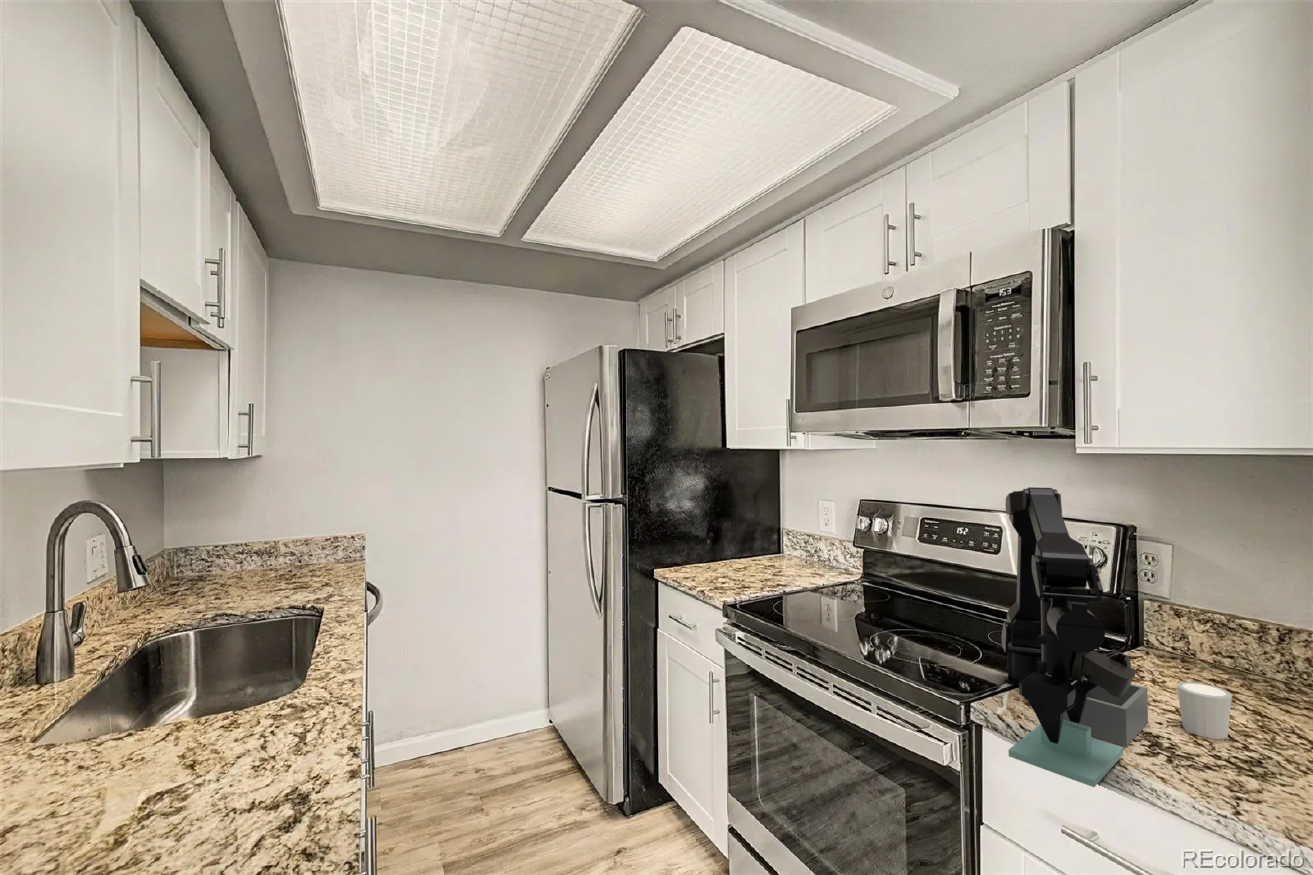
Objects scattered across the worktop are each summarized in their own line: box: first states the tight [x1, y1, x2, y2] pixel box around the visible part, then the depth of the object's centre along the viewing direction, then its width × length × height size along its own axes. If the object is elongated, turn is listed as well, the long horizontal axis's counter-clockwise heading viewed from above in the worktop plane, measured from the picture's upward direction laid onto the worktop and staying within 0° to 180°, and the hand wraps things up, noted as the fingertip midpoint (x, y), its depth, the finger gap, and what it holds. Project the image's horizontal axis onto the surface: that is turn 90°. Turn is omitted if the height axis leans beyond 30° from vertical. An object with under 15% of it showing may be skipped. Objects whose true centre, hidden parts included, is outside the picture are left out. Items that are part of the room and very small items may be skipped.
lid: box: [1008, 719, 1124, 788], centre depth 93 cm, size 11×14×6 cm
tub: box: [1063, 683, 1149, 748], centre depth 104 cm, size 10×13×6 cm
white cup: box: [1176, 681, 1233, 740], centre depth 101 cm, size 7×7×7 cm
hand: (1064, 733), depth 93 cm, fingers open, 9 cm apart
